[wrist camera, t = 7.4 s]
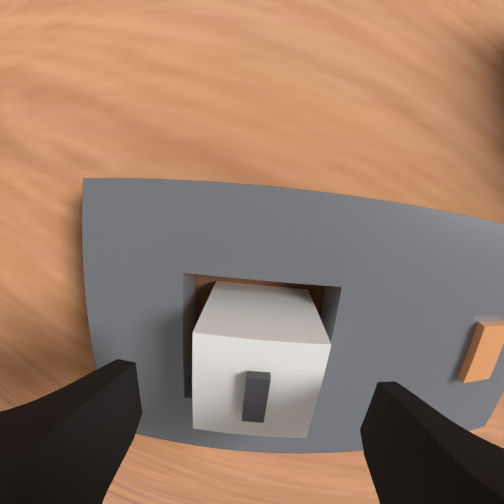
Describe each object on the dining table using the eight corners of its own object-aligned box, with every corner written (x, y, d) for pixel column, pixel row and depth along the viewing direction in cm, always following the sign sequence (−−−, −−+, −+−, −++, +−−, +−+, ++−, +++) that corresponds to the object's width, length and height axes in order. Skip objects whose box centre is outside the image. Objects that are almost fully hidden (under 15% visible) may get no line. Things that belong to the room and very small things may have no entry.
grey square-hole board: (467, 404, 15) (488, 431, 12) (125, 398, 15) (104, 433, 12) (523, 229, 12) (559, 238, 9) (112, 178, 12) (74, 178, 9)
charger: (294, 365, 14) (307, 445, 9) (212, 358, 14) (190, 435, 9) (307, 289, 13) (334, 351, 8) (216, 280, 13) (189, 338, 8)
